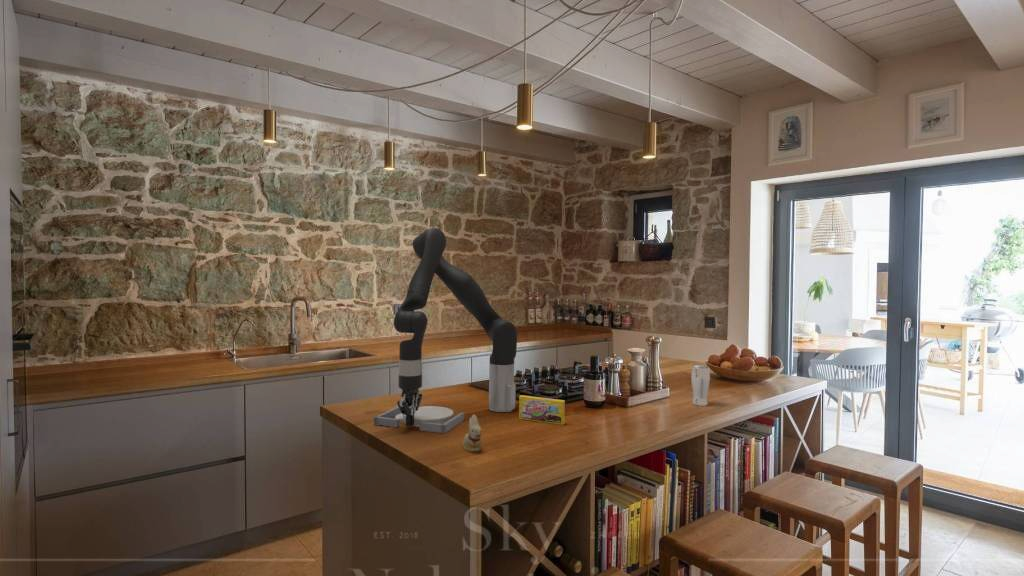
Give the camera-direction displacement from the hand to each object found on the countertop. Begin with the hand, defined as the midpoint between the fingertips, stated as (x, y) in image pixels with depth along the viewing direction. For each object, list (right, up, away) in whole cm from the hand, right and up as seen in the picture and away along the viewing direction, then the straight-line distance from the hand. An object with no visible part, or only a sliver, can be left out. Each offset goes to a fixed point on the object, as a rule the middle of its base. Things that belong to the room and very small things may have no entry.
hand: (410, 425), depth 173 cm
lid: (+3, -1, +10) cm, 11 cm away
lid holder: (+2, -1, +7) cm, 8 cm away
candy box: (+43, -2, +11) cm, 45 cm away
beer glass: (+108, -2, +39) cm, 114 cm away
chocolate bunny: (+21, -2, -18) cm, 28 cm away
